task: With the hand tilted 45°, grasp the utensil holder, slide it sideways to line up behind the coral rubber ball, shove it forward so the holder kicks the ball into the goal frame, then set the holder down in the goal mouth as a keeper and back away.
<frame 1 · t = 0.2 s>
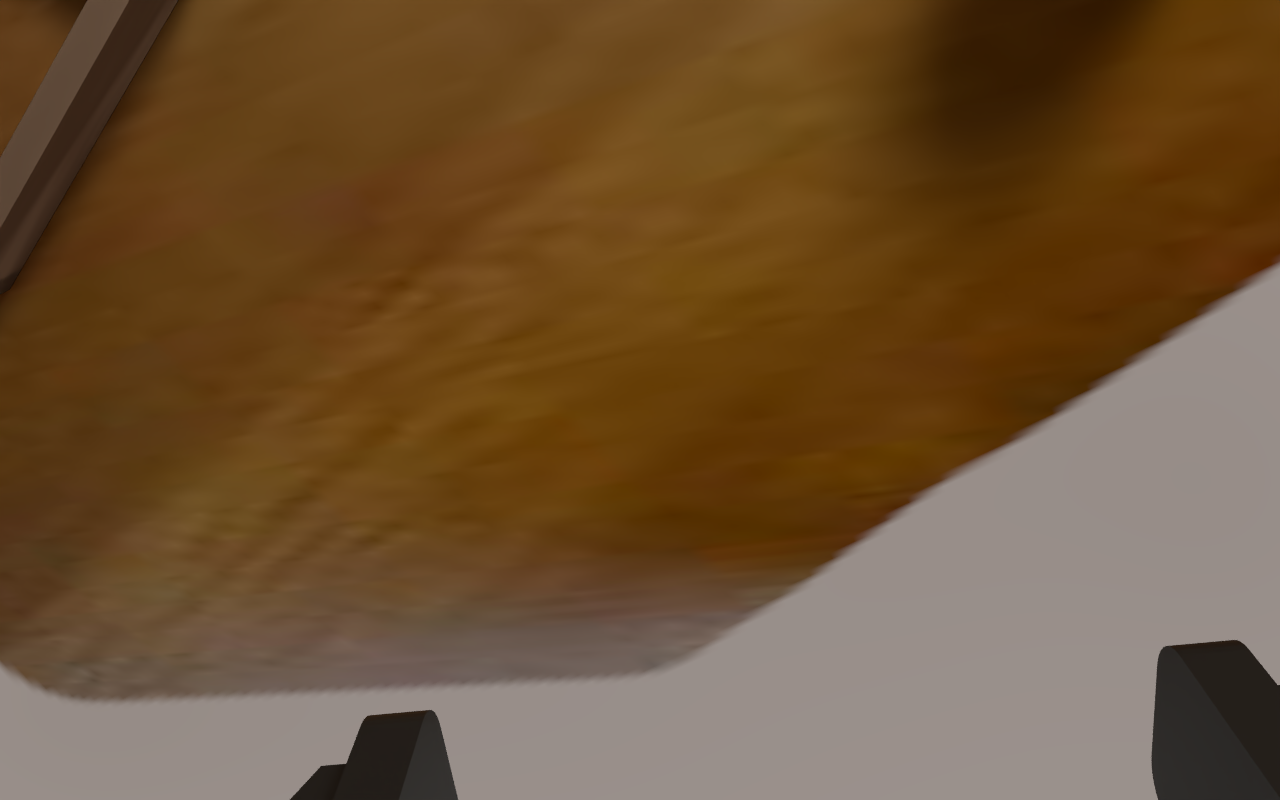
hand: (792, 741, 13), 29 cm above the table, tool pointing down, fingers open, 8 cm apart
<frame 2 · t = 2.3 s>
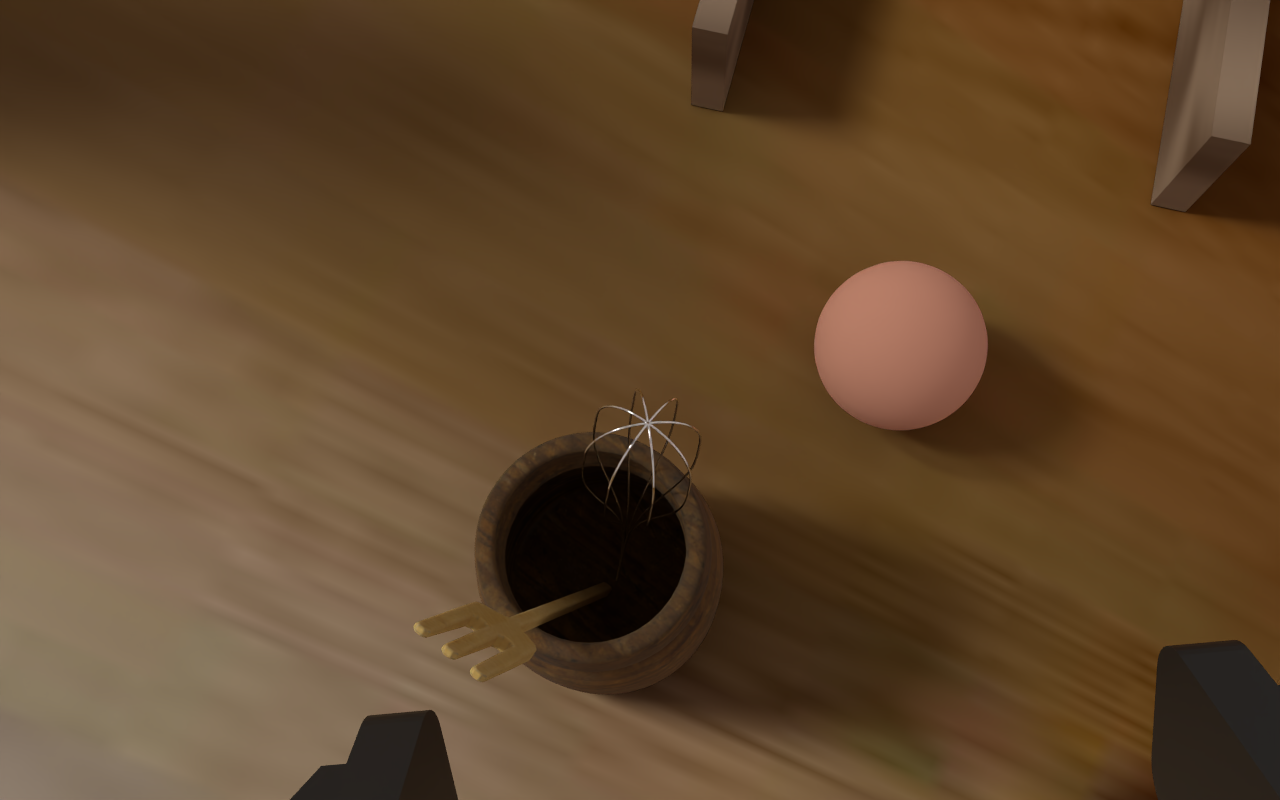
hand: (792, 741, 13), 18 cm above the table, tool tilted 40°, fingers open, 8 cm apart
utensil holder: (608, 589, 31), on the table
ball: (899, 345, 30), point 2 cm above the table
goal: (966, 4, 35), on the table
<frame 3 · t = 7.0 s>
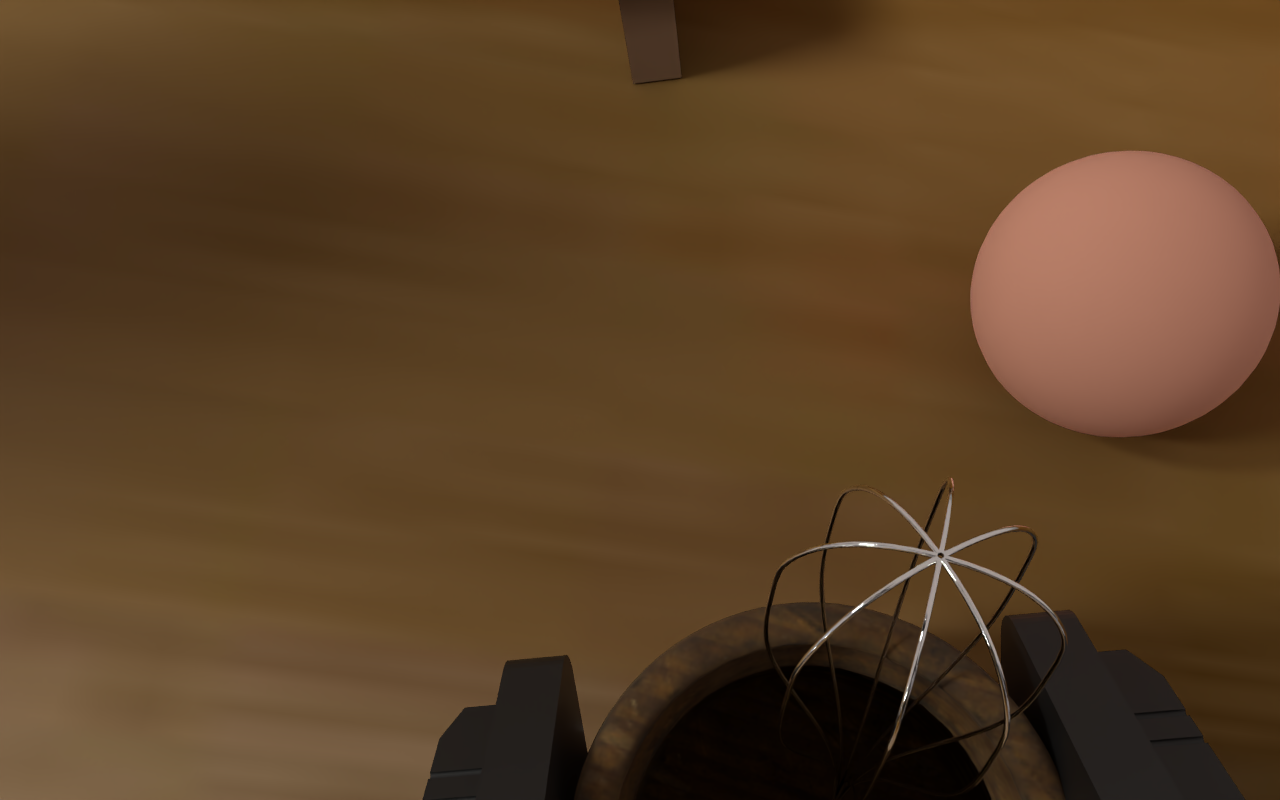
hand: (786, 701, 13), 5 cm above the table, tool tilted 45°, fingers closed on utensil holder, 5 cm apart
ball: (1117, 295, 18), point 2 cm above the table
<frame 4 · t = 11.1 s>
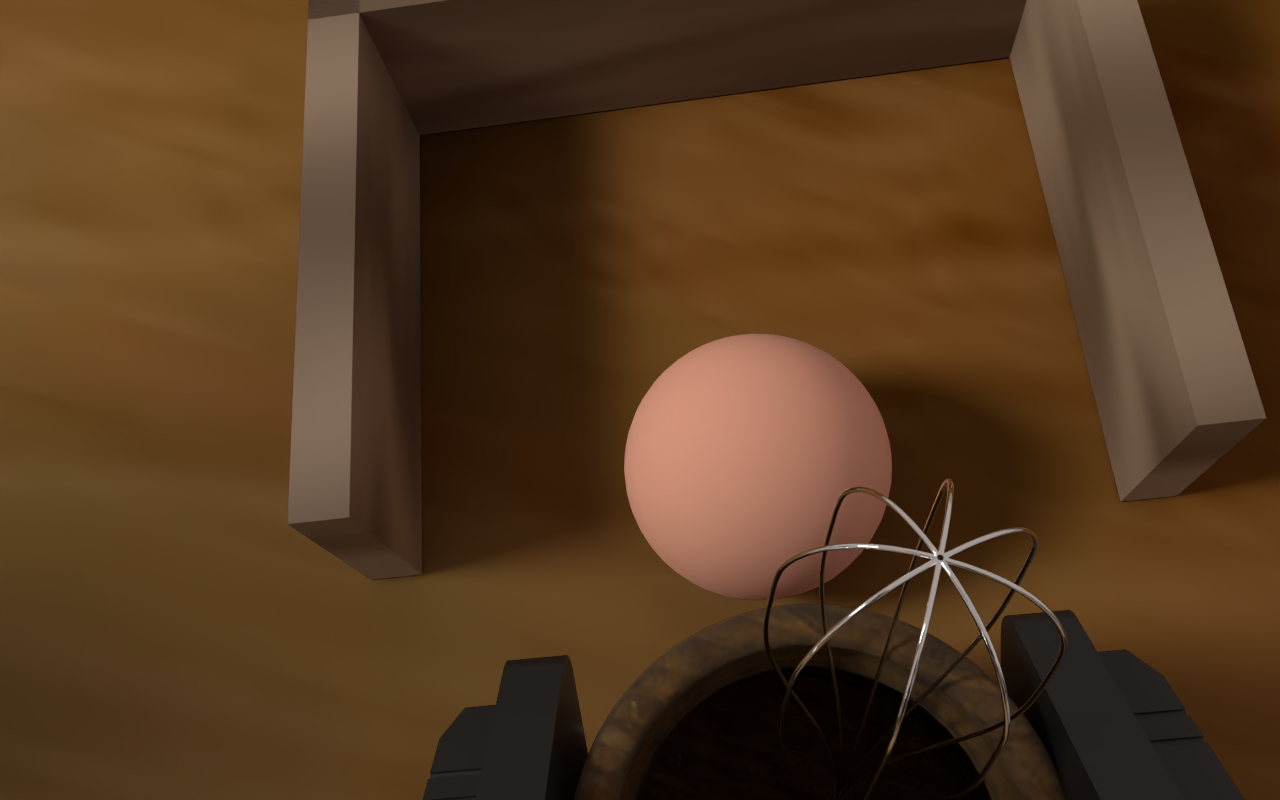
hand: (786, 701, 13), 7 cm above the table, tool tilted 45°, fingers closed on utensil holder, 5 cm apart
ball: (756, 466, 19), point 2 cm above the table, tilted 165°
goal: (731, 277, 23), on the table
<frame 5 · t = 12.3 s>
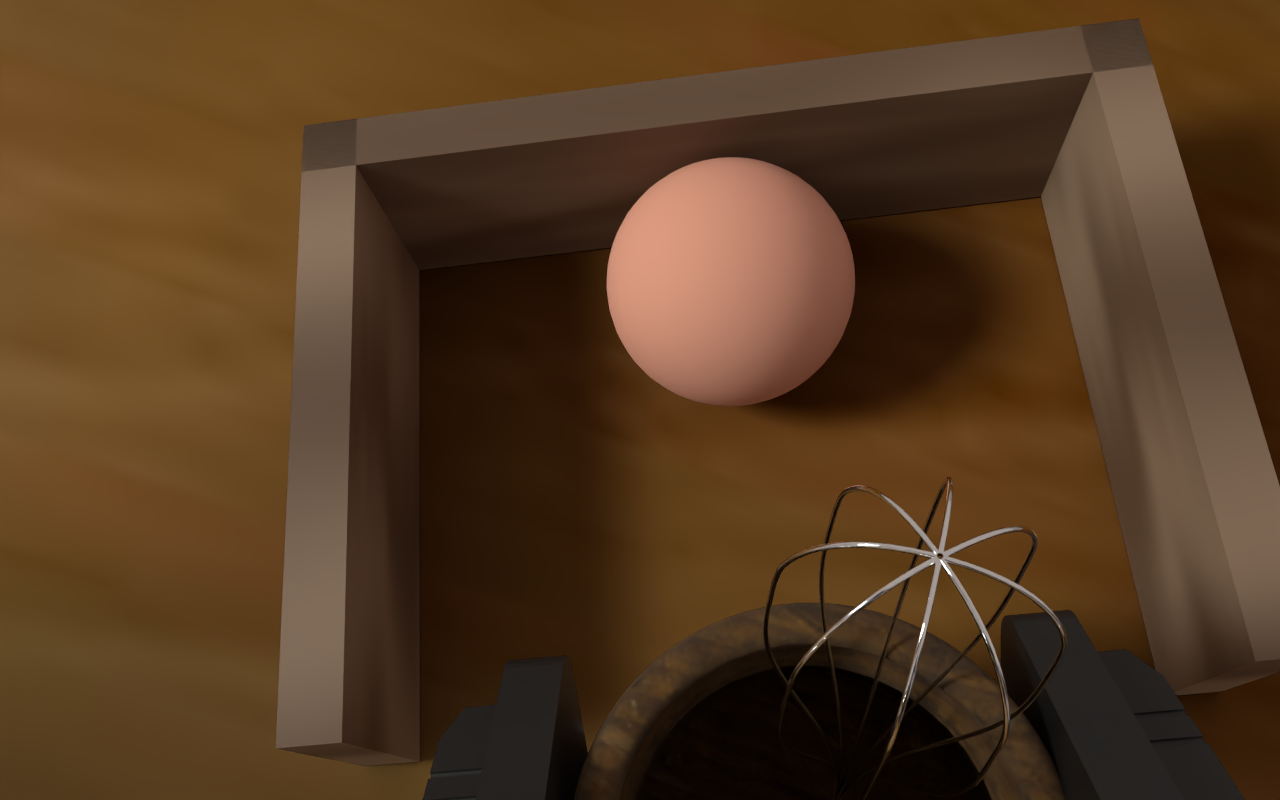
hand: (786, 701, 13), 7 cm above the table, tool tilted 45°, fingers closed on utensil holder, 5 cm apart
ball: (729, 283, 21), point 2 cm above the table, tilted 13°
goal: (747, 436, 22), on the table
when the fingers open (6 cm above the table, at t = 14.4 s): utensil holder stays where it is, on the table.
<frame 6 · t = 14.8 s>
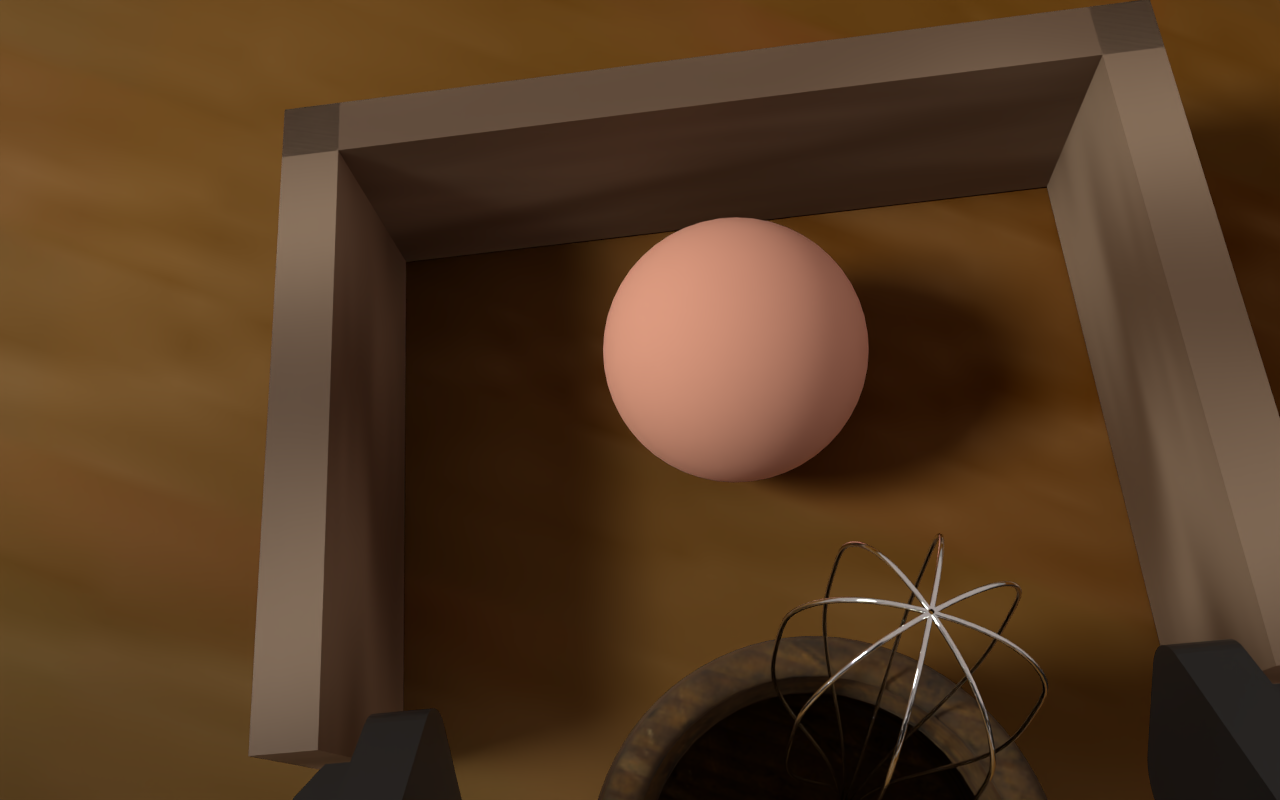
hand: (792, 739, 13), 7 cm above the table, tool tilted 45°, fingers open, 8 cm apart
ball: (734, 350, 19), point 2 cm above the table, tilted 25°
goal: (744, 432, 21), on the table
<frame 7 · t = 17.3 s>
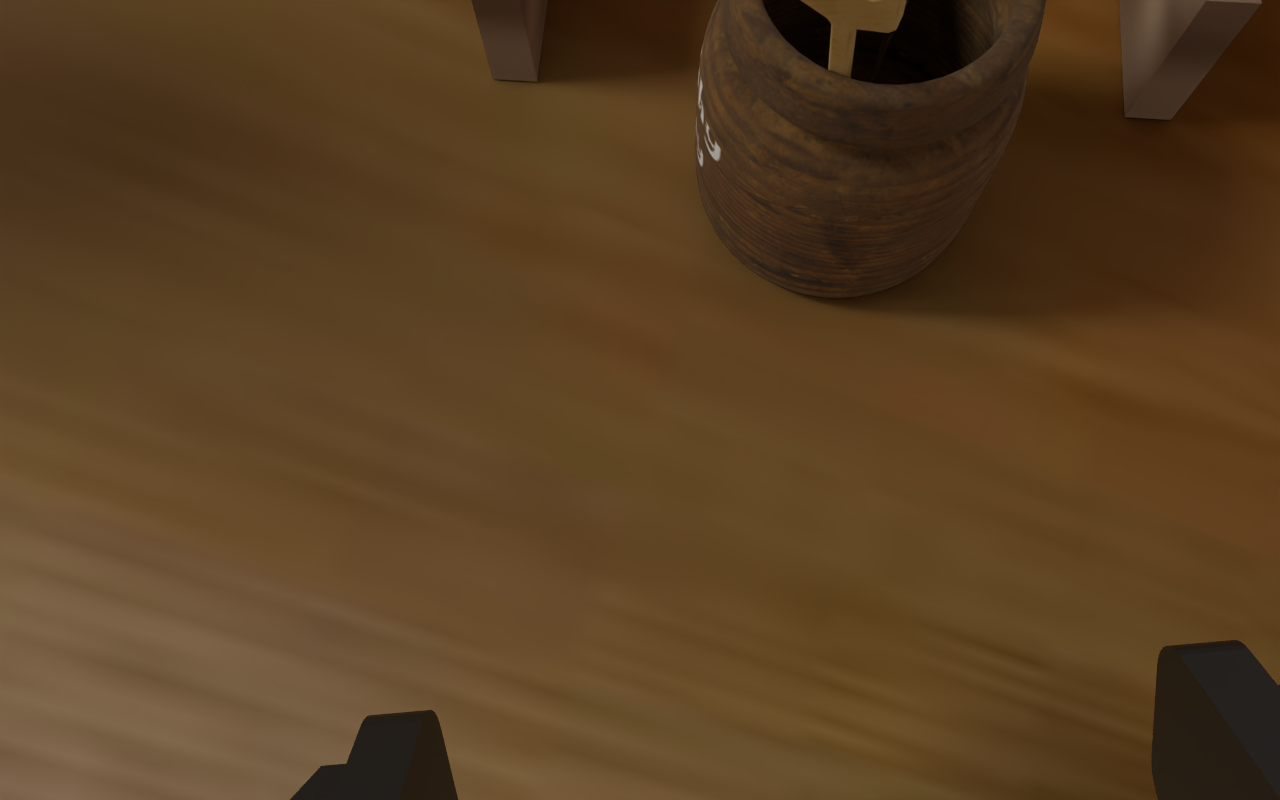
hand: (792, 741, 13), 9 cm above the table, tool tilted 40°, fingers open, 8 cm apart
utensil holder: (826, 191, 25), on the table
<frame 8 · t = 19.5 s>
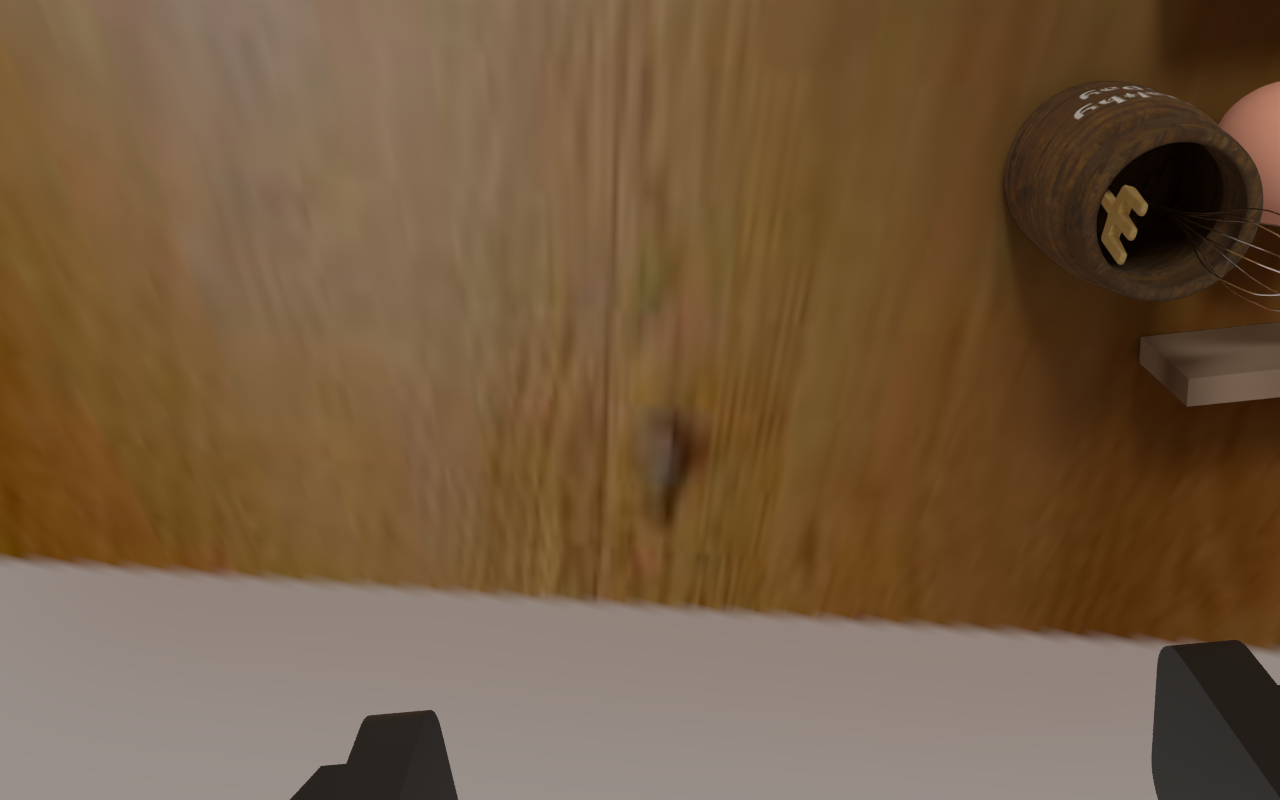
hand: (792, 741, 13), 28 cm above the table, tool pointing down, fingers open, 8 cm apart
utensil holder: (1081, 165, 38), on the table
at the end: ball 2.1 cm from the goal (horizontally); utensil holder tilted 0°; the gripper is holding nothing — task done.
